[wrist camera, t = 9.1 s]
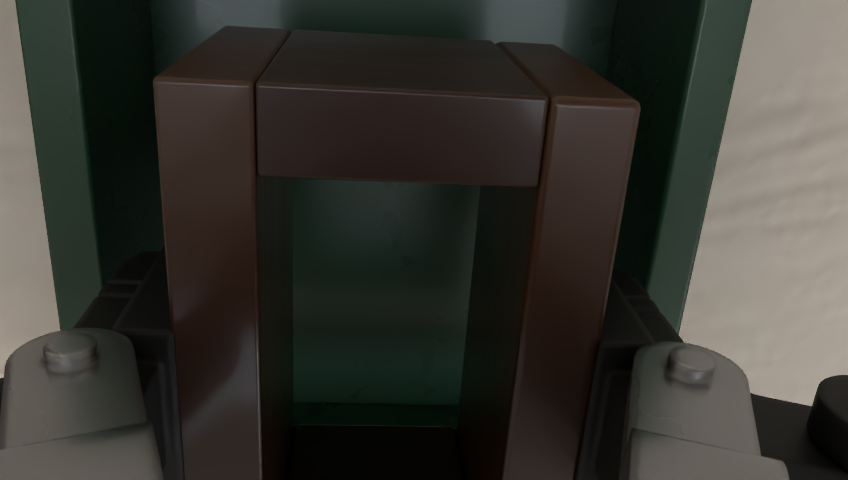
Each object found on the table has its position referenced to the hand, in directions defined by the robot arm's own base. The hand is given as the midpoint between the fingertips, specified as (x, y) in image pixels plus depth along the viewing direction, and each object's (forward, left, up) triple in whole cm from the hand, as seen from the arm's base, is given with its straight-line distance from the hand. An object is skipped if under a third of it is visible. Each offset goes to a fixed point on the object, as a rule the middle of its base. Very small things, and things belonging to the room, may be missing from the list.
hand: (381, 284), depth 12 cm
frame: (0, 0, 0) cm, 0 cm away
